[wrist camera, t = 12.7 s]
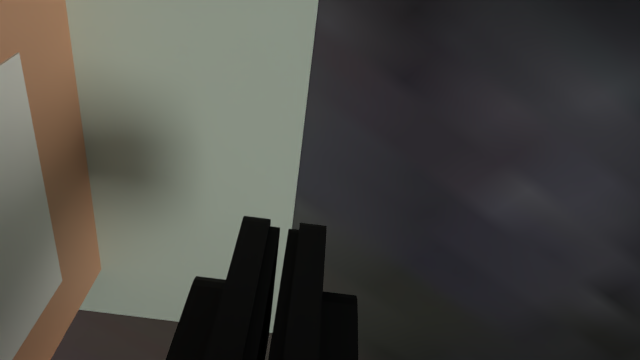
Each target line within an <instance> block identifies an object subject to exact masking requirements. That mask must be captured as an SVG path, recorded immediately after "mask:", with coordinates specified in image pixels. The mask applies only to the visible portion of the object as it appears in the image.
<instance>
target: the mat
mask: <svg viewBox="0 0 640 360" xmlns="http://www.w3.org/2000/svg"><path fill="white" fill-rule="evenodd" d="M65 1H66V9H67V16H68V24H69V31H70V39H71V46H72V54H73V61H74V69H75V76H76V84H77V91H78V98H79V106H80V113H81V121H82V128H83V136H84V143H85V151H86V158H87V166H88V173H89V181H90V188H91V196H92V203H93V211H94V218H95V225H96V233H97V240H98V248H99V255H100V263H101V271H100V273H99V274H98V276H97V278H96V280H95V282H94V283H93V285H92V287H91V289H90V290H89V292H88V294H87V296H86V298H85V299H84V301H83V303H82V305H81V306H80V308H79V310H87V311H95V312H103V313H112V314H120V315H128V316H136V317H145V318H153V319H161V320H169V321H178V322H179V320H180V317H181V314H182V311H183V309H184V306H185V303H186V300H187V297H188V294H189V291H190V288H191V285H192V283H193V280H194V279H195V277H196V276H200V277H208V278H216V279H224V280H226V278H227V274H228V271H229V267H230V263H231V260H232V256H233V252H234V249H235V245H236V241H237V238H238V234H239V230H240V227H241V223H242V220H243V217H244V216H250V217H258V218H266V219H271V225H270V226H272V227H280V236H279V246H278V255H277V265H276V274H275V284H274V294H273V303H272V313H271V322H270V330H269V333H273V326H274V320H275V314H276V307H277V301H278V294H279V288H280V281H281V275H282V268H283V262H284V255H285V249H286V242H287V236H288V230H289V229H292V223H293V214H294V206H295V197H296V189H297V180H298V172H299V163H300V155H301V146H302V138H303V129H304V120H305V112H306V103H307V95H308V86H309V78H310V69H311V61H312V52H313V44H314V35H315V27H316V18H317V10H318V1H319V0H65Z"/></svg>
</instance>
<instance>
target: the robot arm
mask: <svg viewBox="0 0 640 360" xmlns="http://www.w3.org/2000/svg"><path fill="white" fill-rule="evenodd" d="M270 225H271V219H266V218H258V217H250V216H244V217H243V220H242V223H241V227H240V230H239V234H238V238H237V241H236V245H235V249H234V252H233V256H232V260H231V263H230V267H229V271H228V274H227V278H226V280H224V279H216V278H208V277H200V276H196V277H195V279H194V280H193V283H192V285H191V288H190V291H189V294H188V297H187V300H186V303H185V306H184V309H183V311H182V314H181V317H180V320H179V323H178V326H177V329H176V332H175V335H174V337H173V340H172V343H171V346H170V349H169V352H168V355H167V358H166V360H265V355H266V349H267V343H268V336H269V330H270V322H271V313H272V303H273V294H274V284H275V274H276V265H277V255H278V246H279V236H280V227H272V226H270ZM325 244H326V226H321V225H313V224H305V223H300V228H299V230H296V229H289V230H288V236H287V242H286V249H285V255H284V262H283V268H282V275H281V281H280V288H279V294H278V301H277V307H276V314H275V320H274V326H273V333H272V339H271V346H270V352H269V359H268V360H358V313H357V297H356V296H354V295H346V294H338V293H330V292H323V277H324V260H325Z"/></svg>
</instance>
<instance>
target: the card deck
mask: <svg viewBox="0 0 640 360" xmlns="http://www.w3.org/2000/svg"><path fill="white" fill-rule="evenodd" d="M100 271H101V263H100V255H99V248H98V240H97V233H96V225H95V218H94V211H93V203H92V196H91V188H90V181H89V173H88V166H87V158H86V151H85V143H84V136H83V128H82V121H81V113H80V106H79V98H78V91H77V84H76V76H75V69H74V61H73V54H72V46H71V39H70V31H69V24H68V16H67V9H66V1H65V0H0V360H51V358H52V356H53V354H54V353H55V351H56V349H57V347H58V346H59V344H60V342H61V340H62V338H63V337H64V335H65V333H66V331H67V330H68V328H69V326H70V324H71V322H72V321H73V319H74V317H75V315H76V314H77V312H78V310H79V308H80V306H81V305H82V303H83V301H84V299H85V298H86V296H87V294H88V292H89V290H90V289H91V287H92V285H93V283H94V282H95V280H96V278H97V276H98V274H99V273H100Z"/></svg>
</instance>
